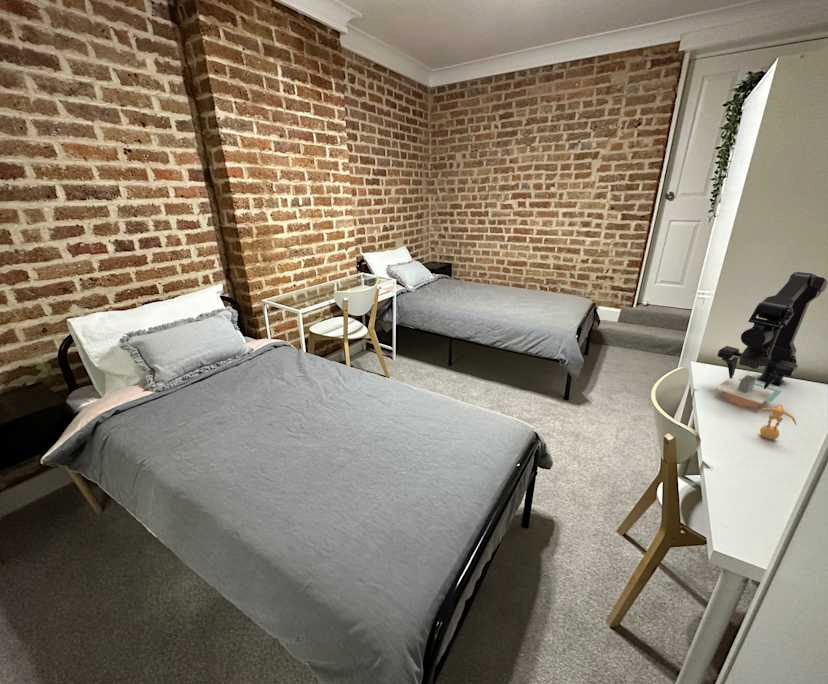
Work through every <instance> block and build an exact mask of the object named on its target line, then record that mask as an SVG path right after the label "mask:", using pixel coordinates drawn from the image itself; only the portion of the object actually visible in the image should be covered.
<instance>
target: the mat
mask: <svg viewBox="0 0 828 684" xmlns="http://www.w3.org/2000/svg"><path fill="white" fill-rule="evenodd" d="M741 379H742V378H739V379H738V380H740V381H741ZM754 385H756V386H759V387H763V388H764V386H765V385H763V384H760V383H756V382H755V384H754ZM766 389H769V390H772V391H774V393H773V394H772V395H771V396H770V397H769V398H768V399H766V400H765V401H766V402H769V403H770V402H772V401H774V400H775V399H776V398H777V397H778V396H779V395H780V394H781V393H782V392H783V391H782V390H778V389H776V388H773V387H769V386H768V387H767V388H766Z"/></svg>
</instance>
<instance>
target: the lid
mask: <svg viewBox="0 0 828 684" xmlns="http://www.w3.org/2000/svg"><path fill="white" fill-rule="evenodd" d="M757 378H758V377H757V376H753V375H750V374H746V375H745V376H744V377H743V378H740V379H741V381H740V380H739V379H736V378H733V377H732V378H731V379H730V377H729V378H727V379H726V380H724V381H723V382H722V383H720V384H719V385H718V386H717V387H716V390H718V391H722V392H723V393H724V392H727V393H730V394H733V395H736V396H739V397H742V398H745V399H748V400H751V401H754V402H757V403H760V405H762V404H763V403H765V401H767V400H766V399H768V398H769V397H770V396H771V395H772V394H773V393H774V391H772V390H769V389H764V388H763V387H759V386H756V385H754V384H755V383H756V380H757Z"/></svg>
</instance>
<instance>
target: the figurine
mask: <svg viewBox="0 0 828 684" xmlns="http://www.w3.org/2000/svg"><path fill="white" fill-rule="evenodd" d="M762 411H772V414H769V417H768V422H767V424H765V425H763V426H762V427H760V430H759V432H760V435H761V436H762V437H763V438H764V439H767V440H775V439H777V438H779V437H780V431H779V429H778V427H779V426H780V423H781V422H782V421H783V417H782V416H784V415H785V416H787V417H788V418H791V420H792V422H793V423H794V425H795V426H797V422H796V420H795V417H794V416H793V415H792V414H790V413H788V412H787V411H785V409H784V406H783V404H778V405H777V406H775V407H764V408H761V409H758V410H757V411H756V412H755V414H758V413H759V412H760V413H761V412H762ZM772 420H773V421H774V420H776V423H775V425H771V424H772Z"/></svg>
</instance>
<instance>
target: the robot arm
mask: <svg viewBox="0 0 828 684" xmlns="http://www.w3.org/2000/svg"><path fill="white" fill-rule="evenodd" d="M827 286H828V280H827V279H826V278H825V277H823V276H817V275H816V274H814V273H810V272H803V271H802V272H801V271H796V272H792V274H791V275H790V277H789V278H788V280H787V282H786V283H785V284H784V285H783V287H782V288H781V289H779V291H778V292H777V293H776V294H775V295H771V296H767V297H766V298H764V299H763V300H762V301H761V302H759V303H758V304H757V305H756V308H755V309H754V311H753V312H752V315H751V316H750V317H749V319H748V323H751V324H753V326H752V327H750V328H747V329H746V330H745V331H743V332H742V334H741V335H740V340H741V342H742V344H744V345H745V346H746V348H745V349H744V350H743V351H742V352H740V348H736V347H733V346H729V345H725V346H724V347H722V348H720V349H719V351H718V352H717V357H718V358H721V361H723V362H725V363H726V365H727V368H728V369H727V370H728V376H729V378H730V379H731V378H733V377H734V374H735V372H736V368H737V365H738V364H739V365H740V366H742V367H743V366H745V367H748V368H751V369H754V370H755V369H756V370H757V369H758V368H759V367H764V368H763V370H762V373H761V375H760V376H758V377H757V378H756V380H757V381H760V382H763V383H765V384H764V385H763V386H764V389H766V388H767V387H769V386H770V385H773V386H777V387H780V386H781V385H783V384H784V383H785V380H783V379H784V377H785V376H786V377H792V376H793V375H794V374H795V373H796V372H797V371H798V367H799V366H798V364H797V362H798V361H797V356H796V353H797V348H796V345H795V343H794V342H795V339H796V337H797V334H798V331H799V330H800V327H801V325H802V322H803V320H804V317H805V315H806V312H807V310H808V308H809V305H810V304H811V302H813V301H814V300H815V299H817V298H819V297H820V295H821V293H823V292H825V290H826V289H827Z"/></svg>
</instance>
